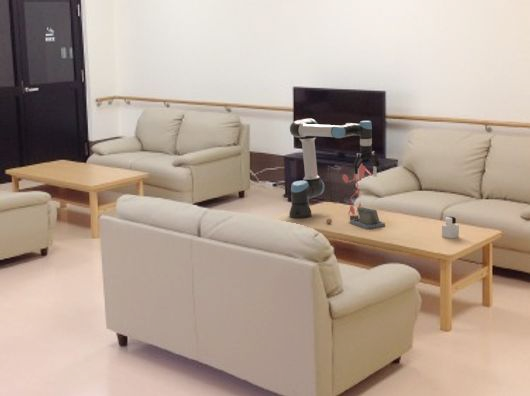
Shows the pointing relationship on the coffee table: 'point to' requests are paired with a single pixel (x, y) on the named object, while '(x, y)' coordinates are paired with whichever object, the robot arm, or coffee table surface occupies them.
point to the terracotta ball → (328, 220)
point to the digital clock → (368, 216)
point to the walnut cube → (354, 217)
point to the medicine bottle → (450, 228)
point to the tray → (356, 222)
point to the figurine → (361, 175)
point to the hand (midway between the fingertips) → (366, 177)
